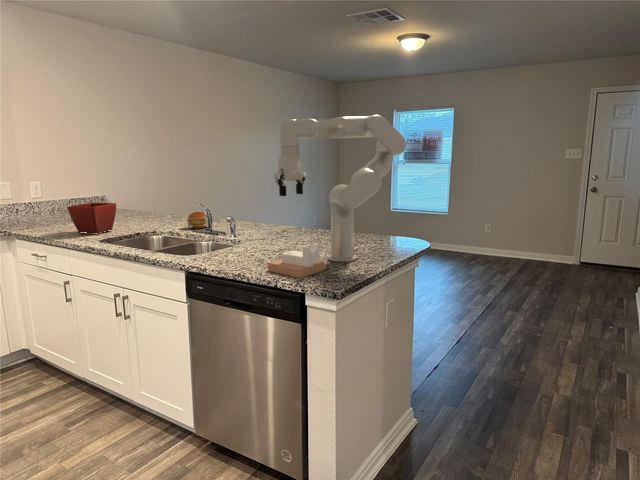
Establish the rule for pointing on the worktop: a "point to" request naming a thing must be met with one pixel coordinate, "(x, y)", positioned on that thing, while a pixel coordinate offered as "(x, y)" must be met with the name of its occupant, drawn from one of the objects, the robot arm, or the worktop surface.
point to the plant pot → (93, 217)
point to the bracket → (302, 256)
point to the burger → (196, 220)
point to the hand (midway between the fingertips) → (291, 194)
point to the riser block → (295, 268)
